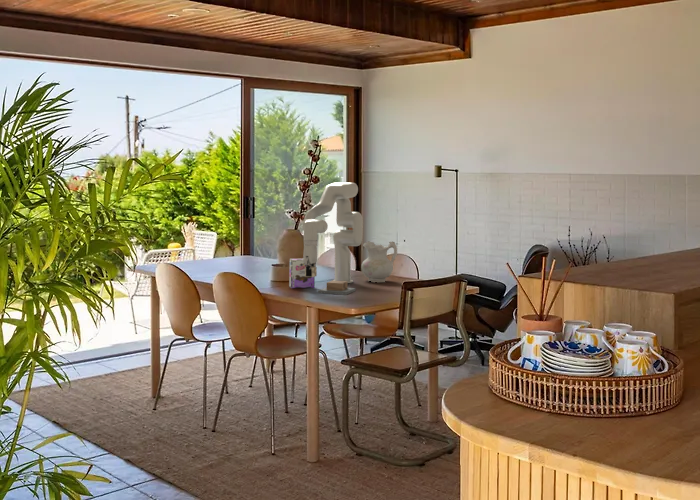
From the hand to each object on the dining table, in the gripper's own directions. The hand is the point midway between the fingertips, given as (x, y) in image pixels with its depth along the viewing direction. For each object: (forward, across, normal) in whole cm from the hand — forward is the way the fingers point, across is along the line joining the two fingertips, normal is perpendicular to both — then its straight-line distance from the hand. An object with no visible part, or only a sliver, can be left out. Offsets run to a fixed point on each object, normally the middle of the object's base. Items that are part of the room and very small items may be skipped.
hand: (310, 275), depth 467 cm
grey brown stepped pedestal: (+8, +1, +16) cm, 18 cm away
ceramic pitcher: (+10, -52, +24) cm, 58 cm away
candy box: (+9, -9, -9) cm, 16 cm away
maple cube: (+1, 0, 0) cm, 1 cm away
